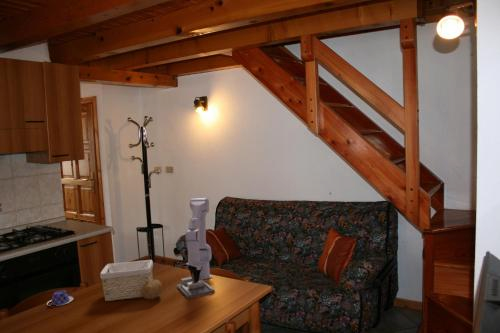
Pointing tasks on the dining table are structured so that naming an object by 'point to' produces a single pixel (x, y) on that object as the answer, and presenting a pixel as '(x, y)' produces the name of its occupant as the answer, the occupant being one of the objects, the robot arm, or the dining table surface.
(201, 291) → the base
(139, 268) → the storage basket
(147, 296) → the potato
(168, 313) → the dining table surface
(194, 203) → the robot arm
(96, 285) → the dining table surface
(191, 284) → the press handle
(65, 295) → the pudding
